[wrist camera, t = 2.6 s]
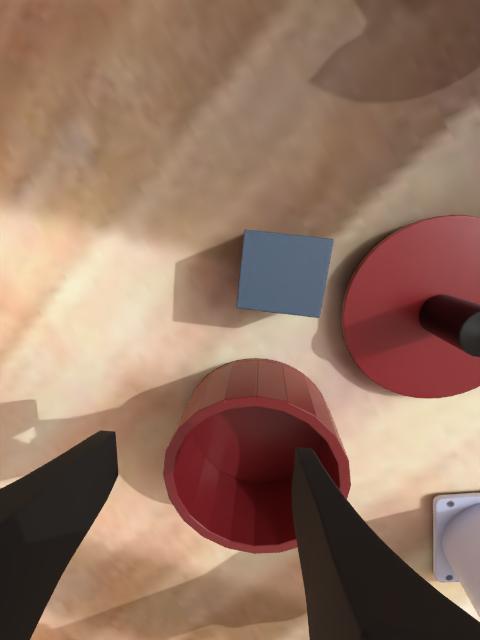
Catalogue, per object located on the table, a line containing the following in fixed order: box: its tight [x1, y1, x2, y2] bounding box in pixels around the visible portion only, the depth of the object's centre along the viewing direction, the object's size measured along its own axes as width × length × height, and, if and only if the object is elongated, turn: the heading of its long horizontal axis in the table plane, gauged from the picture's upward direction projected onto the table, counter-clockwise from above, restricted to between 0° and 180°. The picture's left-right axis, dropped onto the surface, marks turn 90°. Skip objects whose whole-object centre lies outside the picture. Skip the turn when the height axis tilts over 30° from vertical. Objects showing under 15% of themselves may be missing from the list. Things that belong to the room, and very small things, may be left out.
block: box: [236, 230, 333, 318], centre depth 17 cm, size 4×4×4 cm
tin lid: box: [342, 215, 480, 398], centre depth 17 cm, size 11×11×5 cm
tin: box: [163, 359, 351, 554], centre depth 20 cm, size 10×10×5 cm
